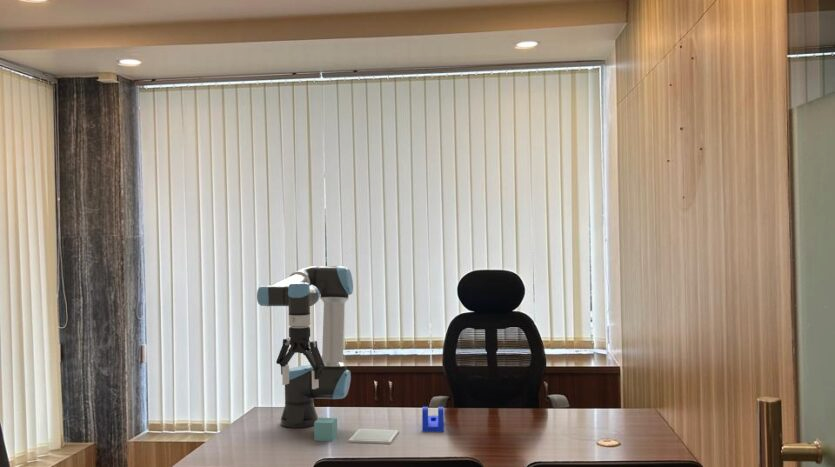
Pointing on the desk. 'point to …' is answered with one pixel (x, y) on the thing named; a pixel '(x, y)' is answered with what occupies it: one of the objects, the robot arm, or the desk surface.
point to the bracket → (433, 421)
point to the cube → (325, 429)
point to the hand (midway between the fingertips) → (300, 386)
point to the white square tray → (374, 436)
